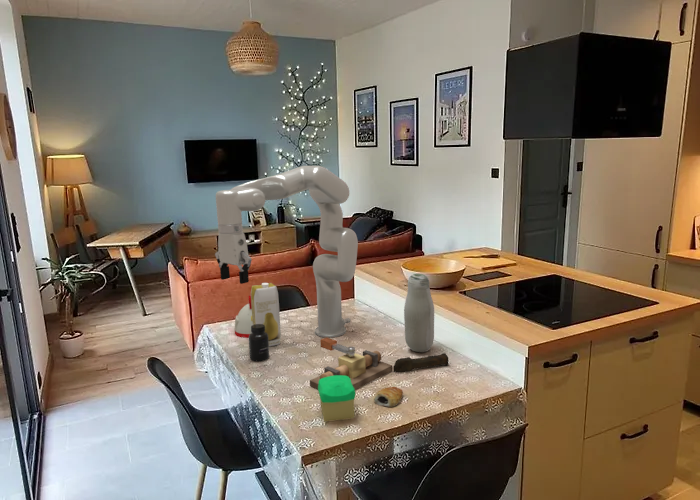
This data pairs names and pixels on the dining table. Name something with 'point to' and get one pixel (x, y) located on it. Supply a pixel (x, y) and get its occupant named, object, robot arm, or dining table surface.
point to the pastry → (388, 396)
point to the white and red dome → (244, 321)
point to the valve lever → (336, 346)
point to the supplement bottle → (258, 343)
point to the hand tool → (419, 363)
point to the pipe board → (364, 376)
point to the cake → (336, 397)
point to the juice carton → (266, 310)
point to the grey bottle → (419, 314)
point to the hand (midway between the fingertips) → (234, 280)
